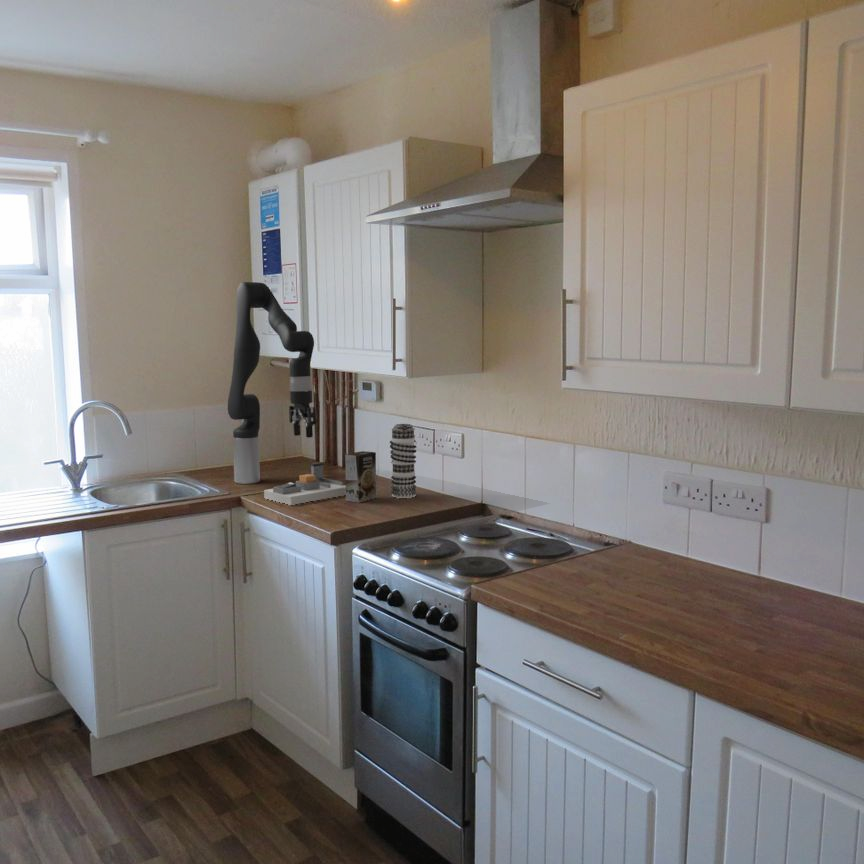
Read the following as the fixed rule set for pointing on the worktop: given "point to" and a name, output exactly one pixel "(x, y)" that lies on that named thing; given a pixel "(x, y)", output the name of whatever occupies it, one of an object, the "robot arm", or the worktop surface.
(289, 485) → the rocker switch
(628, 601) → the worktop surface
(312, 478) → the push button
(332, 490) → the control panel
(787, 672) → the worktop surface
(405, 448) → the decorative candle
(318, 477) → the slide paddle
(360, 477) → the coffee box
